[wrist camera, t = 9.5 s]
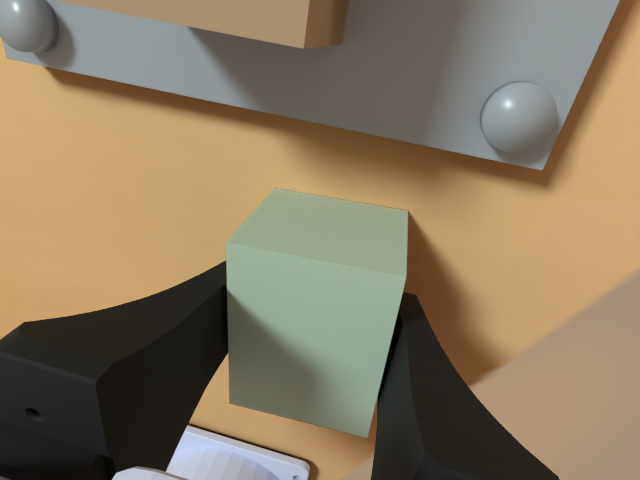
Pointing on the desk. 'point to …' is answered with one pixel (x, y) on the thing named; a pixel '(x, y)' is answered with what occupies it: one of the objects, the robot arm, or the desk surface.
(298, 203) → the sage brick
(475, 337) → the desk surface
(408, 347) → the robot arm
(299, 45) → the walnut brick
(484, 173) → the desk surface
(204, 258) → the desk surface
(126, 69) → the baseplate
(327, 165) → the desk surface
